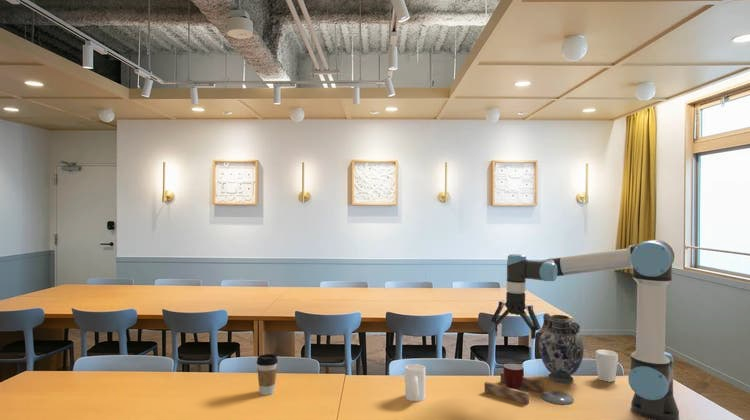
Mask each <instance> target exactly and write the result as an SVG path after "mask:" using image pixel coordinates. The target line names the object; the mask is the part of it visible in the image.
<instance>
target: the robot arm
mask: <svg viewBox="0 0 750 420" xmlns="http://www.w3.org/2000/svg"><path fill="white" fill-rule="evenodd" d="M674 261H675V251H674V250H673V248H672V247H671V246H670V245H669V243H667V242H665V241H663V240H660V239H650V240H644V241H641V242H639V243H637V244H632V245H628V247H627V248H620V249H613V250H607V251H606V250H604V251H601V252H600V251H599V252H589V253H584V254H578V255H577V254H576V255H570V256H561V257H556V258H555V257H554V258H552V257H551V258H547V259H544V260H540V261H539V260H537V261H536V260H529V259H527V255H525V254H519V253H517V254H515V253H513V254H509V255H508V256H507V261H506V262H507V263H506V288H505V289H506V298H505V300H506V301H504V300H500V301H498V307H497V308H496V310H495V312H494V314H493V316H492V317H491V318H490V321H491V322H493V323H494V324H495V325H494V326H495V329H494V331H495V332H497V333H496V340H497V341H500V340H502V336H503V335H502V333H503V332H502V329H503V324H502V323H501V322H502V321H503V320H504V319H505V318H506V317H507V316H508V315H509V314H511V315H516V316H520V317H521V318H522V320H523V321H524V322H525V324H526V325H527V326H528V328H529V331H528V348H531V347H533V346H534V340H535V339H536V337H537V336H536V333H537V332H536V331H539V330H541V328H542V327H541V326H540V323H539V321H538V318H537V316H536V314H535V312H534V306H533V305H531V304H530V305H526V293H525V292H526V285H527V283H526V282H527V281H526V280H527V279H528V280H535V281H543V282H555V280H556V279H557V277H564V276H572V275H579V274H589V273H598V272H599V273H600V272H608V271H615V270H616V271H617V270H625V269H627V270H629V269H632V279H633V280H634V281H636V284H637V286H636V287H637V290H636V292H637V295H636V297H637V298H636V334H635V335H636V339H635V340H636V343H635V351H633V352H632V353H630V371H629V372H628V377H627V378H628V379H627V380H628V384H629V387H630V389H631V390H632V391H633V392H634V394H633V396H632V400H631V403H630V409H631V410H632V412H634V413H635V414H636V415H638V416H640V417H643V418H646V419H648V420H679V419H680V410H679V407H678V405H677V402H676V399H675V396H674V364H675V361H674V356H673V355H672V354H671V353H670V352H667V351H666V313H667V312H666V311H667V309H666V308H667V286H668V285H669V284H670V283H671V282H672V279H673V278H672V277H673V275H672V273H673V264H674ZM504 307H506V310H505V311H504V312H503V313H502V314H501V312H502V310H503V309H504ZM525 310H526V311H527V312H528V315H529V316H528V315H527V313H526V311H525ZM500 314H501V315H500Z"/></svg>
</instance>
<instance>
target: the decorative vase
mask: <svg viewBox="0 0 750 420" xmlns="http://www.w3.org/2000/svg"><path fill="white" fill-rule="evenodd" d="M542 319H543V322H544V324H545V329H544V331H543V332H542V333H541V334H540V335H539V339H538V351H539V355H540V356H539V357H540V359H541V360H542V363H543V366H545V369H546V370H547V371H548V372H550V373H549V374H548V375H547V377H548V380H550V381H551V382H552V381H553V382H555V383H560V384H570V383H573V382H574V381H575V379H574V377H573V374H575V373H576V372H577V371H578V370H579V369H580V366H581V364H582V362H583V358H584V347H585V346H584V343H583V339H582V338H581V336H580V335H579V334H578V333H580V330H581V327H580V324H579V323H577V322H576V321H573V320H572V319H570V317H569V316H568V315H563V314H552V315H550V313H544V314H543V318H542Z"/></svg>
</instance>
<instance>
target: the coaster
mask: <svg viewBox="0 0 750 420" xmlns="http://www.w3.org/2000/svg"><path fill="white" fill-rule="evenodd" d="M541 398H542V399H543V400H544V401H546V402H548V403H552V404H554V405H566V406H567V405H571V404H573V403H574V401H575V399H574V397H573V396H572V395H570V394H568V393H566V392H562V391H561V392H560V391H555V390H549V391H548V390H547V391H543V392H541Z"/></svg>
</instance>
